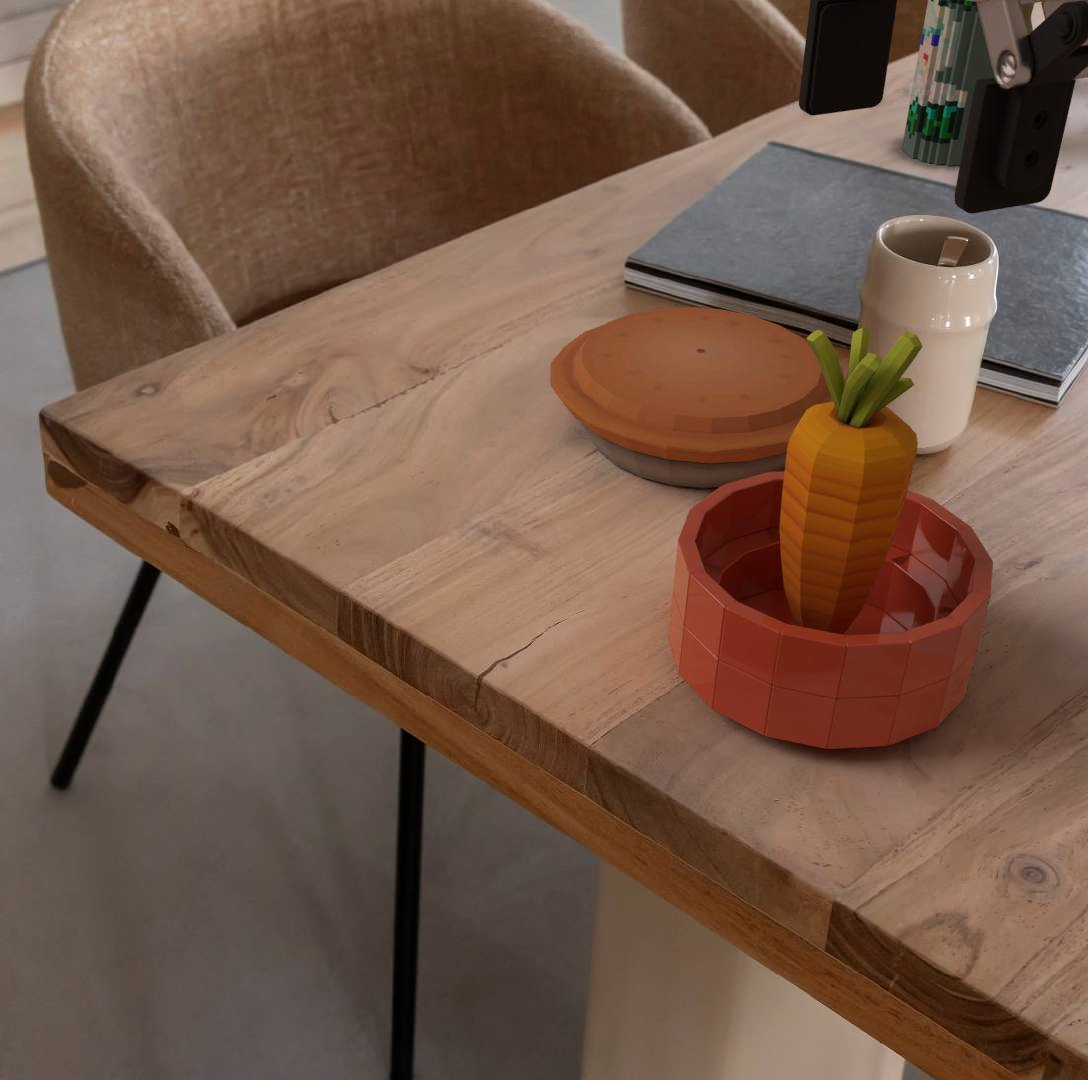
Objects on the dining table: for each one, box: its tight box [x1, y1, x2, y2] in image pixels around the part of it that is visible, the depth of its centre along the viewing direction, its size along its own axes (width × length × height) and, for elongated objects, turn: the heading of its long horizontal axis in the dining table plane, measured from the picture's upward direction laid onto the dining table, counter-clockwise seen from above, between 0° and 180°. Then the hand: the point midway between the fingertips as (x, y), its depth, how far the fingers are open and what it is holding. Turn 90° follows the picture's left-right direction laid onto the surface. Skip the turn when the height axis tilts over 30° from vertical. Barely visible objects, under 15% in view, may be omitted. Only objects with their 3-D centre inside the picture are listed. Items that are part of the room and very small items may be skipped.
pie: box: [549, 306, 847, 489], centre depth 76 cm, size 15×16×5 cm
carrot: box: [779, 327, 924, 635], centre depth 57 cm, size 5×5×15 cm
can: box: [901, 0, 995, 167], centre depth 110 cm, size 6×6×15 cm
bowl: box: [667, 470, 994, 750], centre depth 60 cm, size 12×12×6 cm
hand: (914, 153), depth 49 cm, fingers open, 9 cm apart
